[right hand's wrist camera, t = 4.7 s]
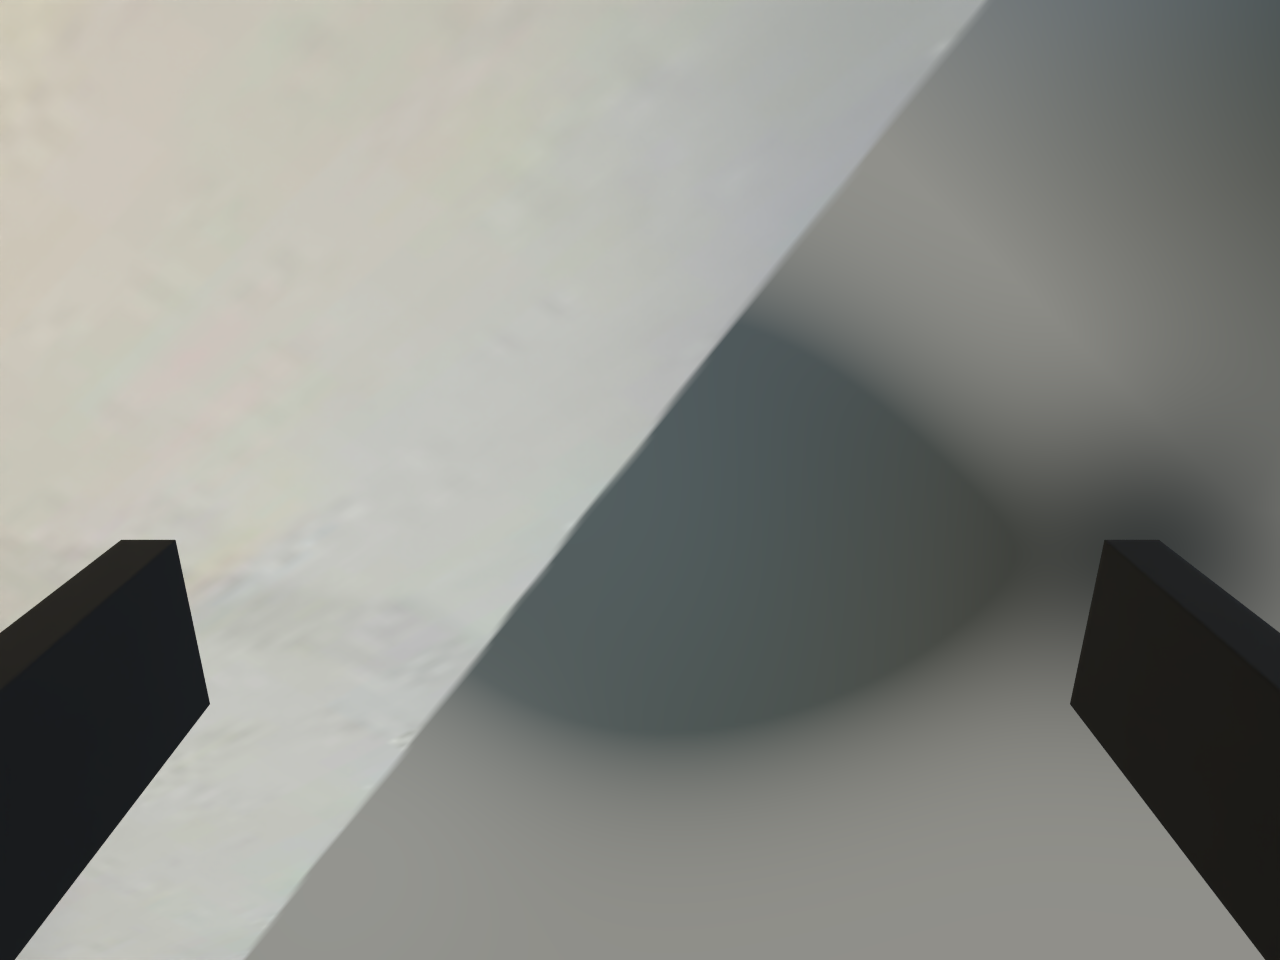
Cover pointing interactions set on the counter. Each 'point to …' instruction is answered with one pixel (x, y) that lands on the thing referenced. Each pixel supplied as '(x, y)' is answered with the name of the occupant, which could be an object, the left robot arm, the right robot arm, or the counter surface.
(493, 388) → the counter surface
